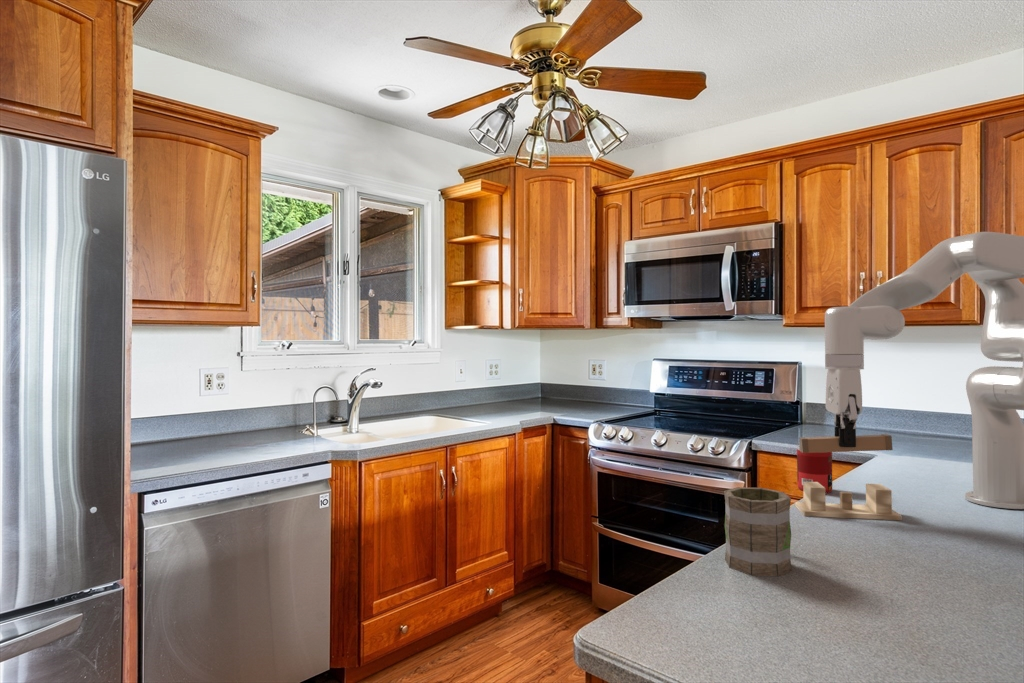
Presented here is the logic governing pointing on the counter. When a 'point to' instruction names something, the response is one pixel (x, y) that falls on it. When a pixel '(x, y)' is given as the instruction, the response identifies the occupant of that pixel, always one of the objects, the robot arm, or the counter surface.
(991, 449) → the robot arm
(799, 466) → the canned food
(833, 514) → the display stand
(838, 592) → the counter surface
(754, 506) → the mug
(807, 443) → the frame bar
